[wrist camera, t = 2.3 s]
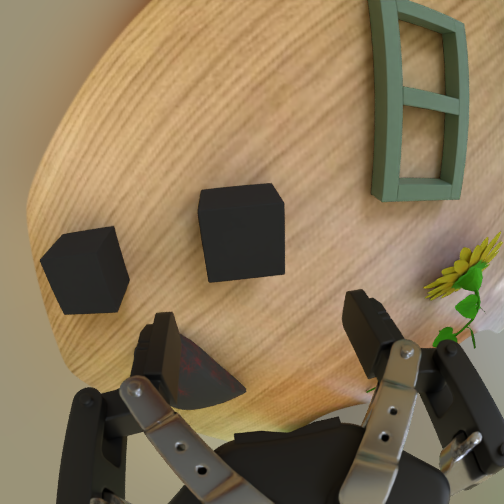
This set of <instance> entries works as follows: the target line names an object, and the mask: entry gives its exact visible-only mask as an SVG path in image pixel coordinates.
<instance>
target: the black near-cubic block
mask: <svg viewBox="0 0 504 504" xmlns="http://www.w3.org/2000/svg"><path fill="white" fill-rule="evenodd" d="M198 218H199V225H200V232H201V238H202V245H203V251H204V258H205V264H206V270H207V276H208V282H209V283H212V282H222V281H231V280H240V279H249V278H258V277H267V276H275V275H284V274H285V211H284V202H283V200H282V199H281V197H280V195H279V194H278V192H277V191H276V189H275V188H274V186H273V184H272V183H267V184H255V185H244V186H233V187H223V188H214V189H205V190H201V194H200V200H199V206H198Z"/></svg>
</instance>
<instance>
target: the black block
mask: <svg viewBox="0 0 504 504" xmlns="http://www.w3.org/2000/svg"><path fill="white" fill-rule="evenodd" d="M40 262H41V265H42V267H43V269H44V272H45V274H46V277H47V279H48V281H49V283H50V286H51V288H52V290H53V292H54V294H55V297H56V299H57V301H58V303H59V305H60V307H61V309H62V311H63V313H64V315H69V314H95V313H115V312H118V310H119V307H120V305H121V302H122V299H123V297H124V294H125V291H126V289H127V286H128V284H129V281H130V279H129V276H128V273H127V270H126V267H125V263H124V260H123V257H122V253H121V250H120V247H119V243H118V239H117V236H116V232H115V228H114V226H111V227H105V228H98V229H92V230H86V231H79V232H73V233H67V234H63V235H62V236H61V237H60V238H59V239H58V240H57V241H56V242H55V243H54V244H53V245H52V247H51V248H50V249H49V250H48V251H47V252H46V253H45V255H44V256H43V257H42V258H41V259H40Z"/></svg>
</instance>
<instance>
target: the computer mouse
mask: <svg viewBox="0 0 504 504" xmlns="http://www.w3.org/2000/svg"><path fill="white" fill-rule="evenodd" d="M180 338H181V357H180V369H179V382H178V396H177V406H172V407H174V408H178V409H183V410H194V409H201V408H206V407H210V406H214V405H217V404H221V403H224V402H226V401H229V400H231V399H233V398H236V397H238V396H240V395H242V394H244V393H245V392H246V388H245V387H244V386H243V385H242V384H241V383H240V382H238V381H237V380H236V379H235V378H234V377H233V376H232V375H230V374H229V373H228V372H227V371H226V370H225V369H224V368H222V367H221V366H220V365H219V364H218V363H217V362H215V361H214V360H213V359H212V358H211V357H210V356H209V355H208V354H206V353H205V352H204V351H203V350H202V349H201V348H200V347H199V346H197V345H196V344H195V343H194V342H192V341H191V340H189V339H188V338H186V337H184V336H183V335H181V334H180ZM136 348H137V347H136ZM136 348H135V351H134V357H135V353H136V350H137V349H136Z"/></svg>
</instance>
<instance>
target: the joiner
mask: <svg viewBox="0 0 504 504" xmlns="http://www.w3.org/2000/svg"><path fill="white" fill-rule="evenodd" d="M368 6H369V14H370V23H371V33H372V45H373V60H374V84H375V133H374V158H373V175H372V188H371V195H373V196H374V197H376V198H377V199H378V200H380V201H381V202H396V201H397V202H399V201H426V200H459V199H460V195H461V189H462V183H463V176H464V168H465V160H466V151H467V140H468V124H469V68H468V53H467V43H466V34H465V26H464V23H462V22H460V21H458V20H455V19H453V18H451V17H449V16H447V15H445V14H442V13H440V12H438V11H435V10H433V9H430V8H428V7H425V6H423V5H420V4H417V3H414V2H412V1H409V0H368ZM398 19H399V20H402V21H406V22H409V23H412V24H415V25H418V26H421V27H424V28H427V29H430V30H433V31H436V32H438V33H441V34H442V38H443V48H444V62H445V93H446V96H445V95H441V94H437V93H433V92H428V91H424V90H419V89H414V88H409V87H404V86H403V80H402V58H401V44H400V33H399V23H398ZM403 105H406V106H413V107H419V108H424V109H430V110H435V111H440V112H444V113H445V131H444V145H443V156H442V166H441V174H440V178H399V172H400V160H401V145H402V121H403Z"/></svg>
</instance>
